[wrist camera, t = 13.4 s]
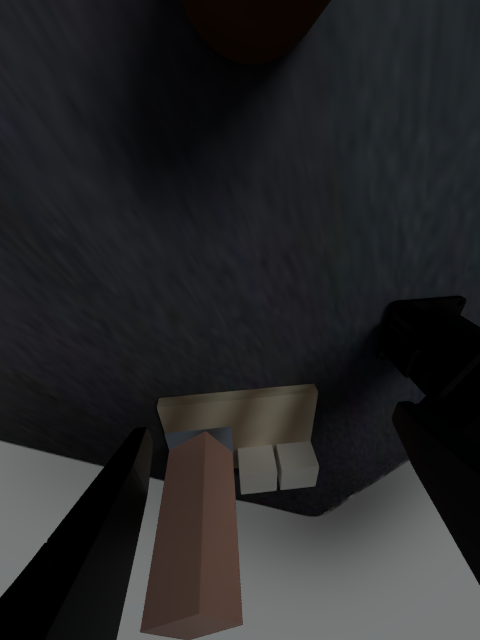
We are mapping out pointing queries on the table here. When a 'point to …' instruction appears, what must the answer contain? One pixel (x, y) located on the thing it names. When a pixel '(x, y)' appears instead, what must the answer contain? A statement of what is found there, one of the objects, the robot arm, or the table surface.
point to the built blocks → (277, 467)
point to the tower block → (195, 545)
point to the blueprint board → (241, 417)
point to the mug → (253, 26)
